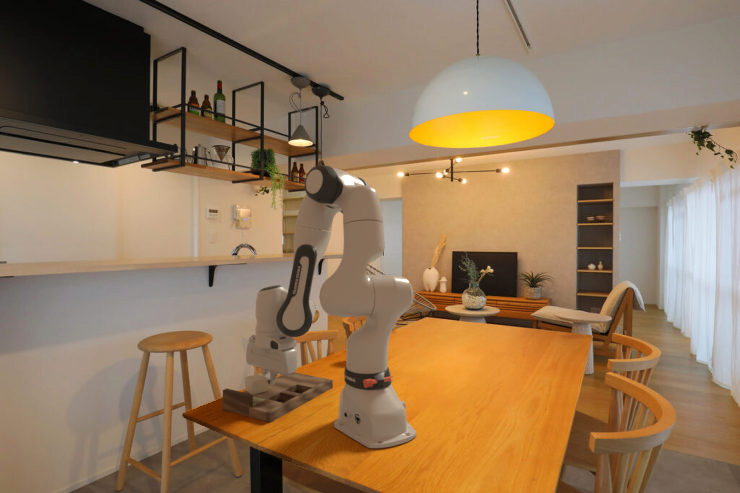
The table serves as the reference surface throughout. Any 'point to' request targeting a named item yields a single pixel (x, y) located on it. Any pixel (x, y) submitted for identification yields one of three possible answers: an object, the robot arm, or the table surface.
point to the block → (256, 384)
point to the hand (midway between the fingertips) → (270, 383)
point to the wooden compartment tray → (276, 397)
